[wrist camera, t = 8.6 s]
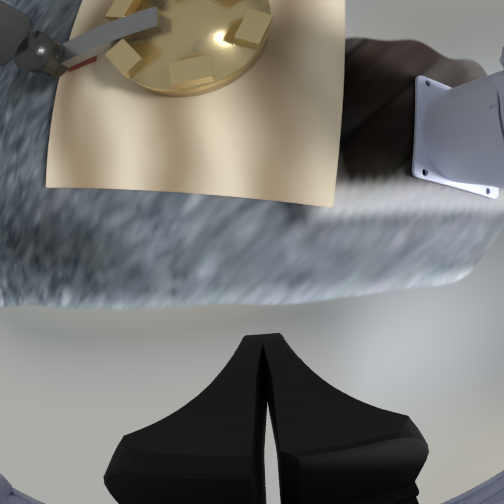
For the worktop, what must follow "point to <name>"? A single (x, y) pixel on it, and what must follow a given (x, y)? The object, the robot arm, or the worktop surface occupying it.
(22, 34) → the bottle
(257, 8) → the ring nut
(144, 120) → the base board
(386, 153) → the worktop surface
